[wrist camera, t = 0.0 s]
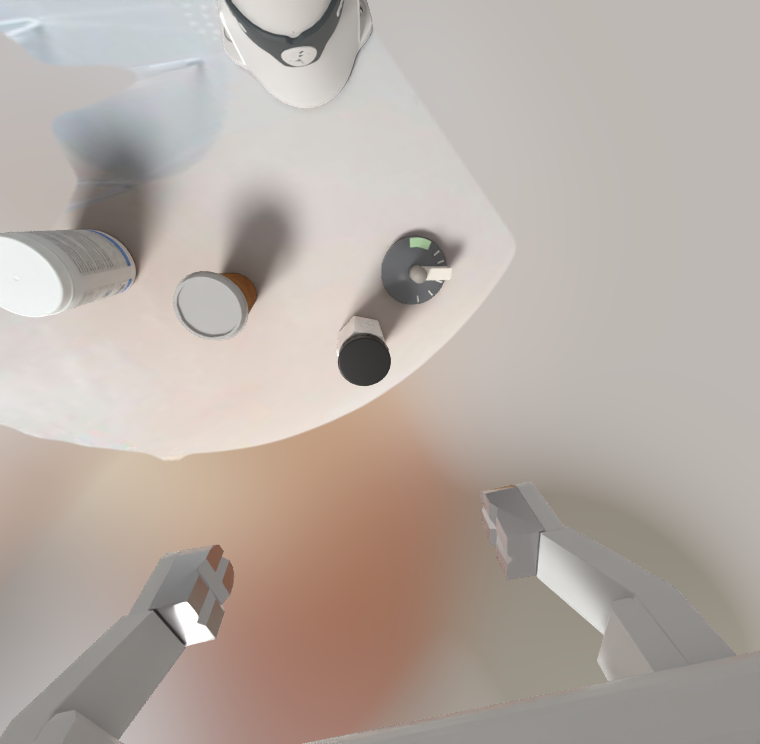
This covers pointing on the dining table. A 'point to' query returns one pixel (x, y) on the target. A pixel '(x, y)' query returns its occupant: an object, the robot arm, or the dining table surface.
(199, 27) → the dining table surface
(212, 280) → the disposable coffee cup
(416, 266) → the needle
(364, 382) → the jar
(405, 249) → the dial
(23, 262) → the supplement tub
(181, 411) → the dining table surface
